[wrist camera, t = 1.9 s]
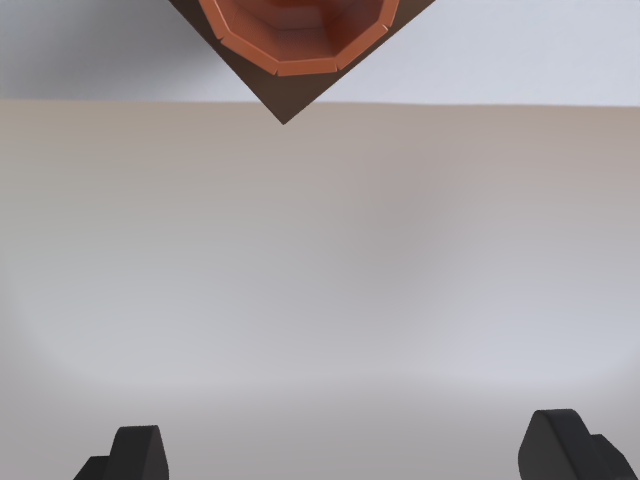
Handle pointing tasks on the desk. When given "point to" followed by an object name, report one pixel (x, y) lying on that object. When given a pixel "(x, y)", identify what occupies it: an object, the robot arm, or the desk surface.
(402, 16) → the dark brown block
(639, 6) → the desk surface
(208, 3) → the faceted orange cup
